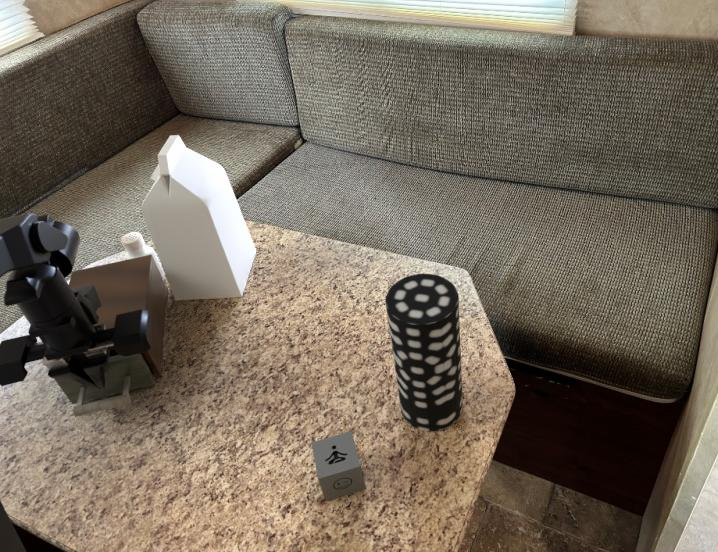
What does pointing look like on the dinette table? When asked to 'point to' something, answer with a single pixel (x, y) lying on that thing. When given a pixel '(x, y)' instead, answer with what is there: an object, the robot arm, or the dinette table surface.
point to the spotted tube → (426, 349)
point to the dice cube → (338, 465)
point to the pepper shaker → (138, 248)
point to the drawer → (110, 384)
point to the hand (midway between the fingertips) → (102, 386)
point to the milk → (197, 225)
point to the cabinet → (130, 297)
